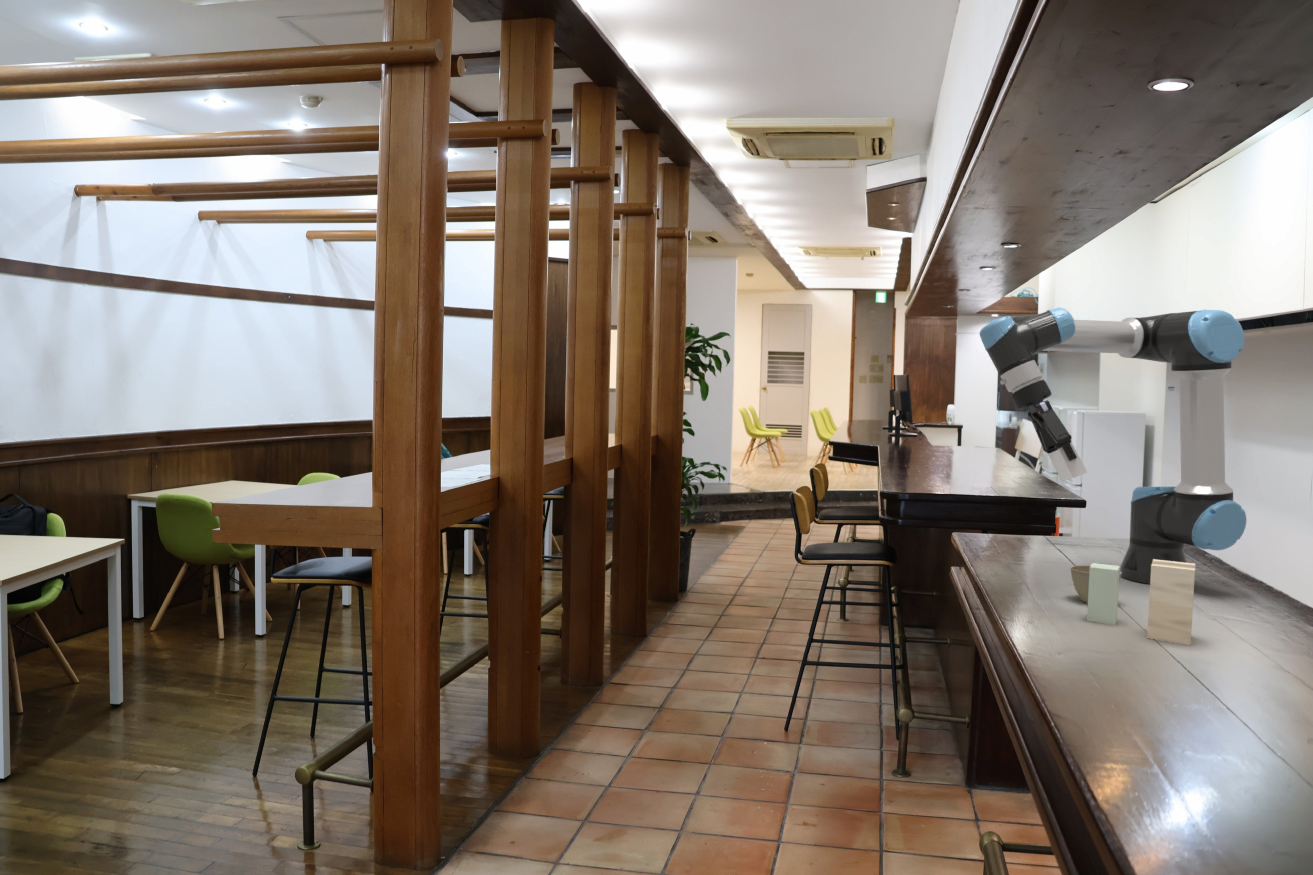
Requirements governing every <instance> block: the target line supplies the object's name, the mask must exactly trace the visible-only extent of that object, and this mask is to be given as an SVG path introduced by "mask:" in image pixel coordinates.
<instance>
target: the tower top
mask: <svg viewBox="0 0 1313 875" xmlns="http://www.w3.org/2000/svg"><path fill="white" fill-rule="evenodd" d="M1195 576H1196V563H1191V562H1187V563H1184V562H1175V561H1165V560H1156V559H1153V561H1152V565H1151V579H1150V584H1149V596H1148V597H1149V599H1148V603H1149V602H1151V603H1159V604H1167V605H1174V606H1182V607H1190V608H1193V609H1194V594H1195V592H1194V591H1195Z"/></svg>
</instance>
